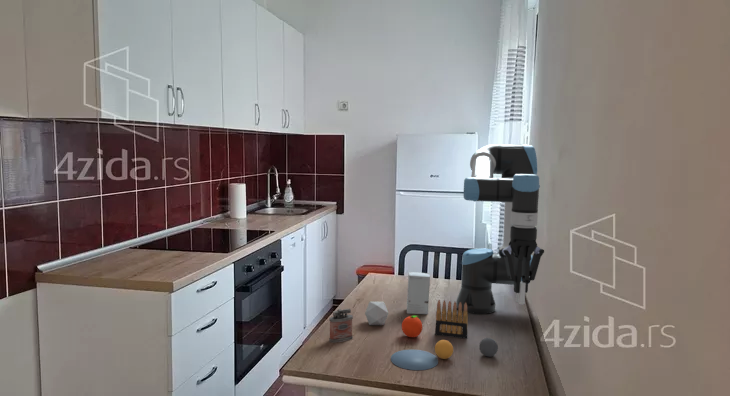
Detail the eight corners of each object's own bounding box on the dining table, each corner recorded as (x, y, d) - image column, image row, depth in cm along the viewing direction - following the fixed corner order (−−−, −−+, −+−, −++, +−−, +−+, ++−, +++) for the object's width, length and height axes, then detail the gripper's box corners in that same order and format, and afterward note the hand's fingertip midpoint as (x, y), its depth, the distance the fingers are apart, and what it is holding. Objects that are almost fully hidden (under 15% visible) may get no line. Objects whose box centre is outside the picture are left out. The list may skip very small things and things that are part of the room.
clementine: (410, 330, 171) (411, 310, 170) (427, 335, 166) (428, 314, 165) (397, 337, 164) (397, 316, 164) (414, 342, 160) (415, 321, 159)
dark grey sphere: (493, 351, 154) (493, 334, 153) (500, 359, 148) (501, 341, 148) (476, 352, 153) (476, 335, 152) (483, 360, 147) (483, 342, 147)
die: (380, 331, 171) (394, 307, 173) (359, 318, 172) (373, 294, 174) (379, 331, 179) (393, 308, 181) (359, 318, 180) (373, 295, 182)
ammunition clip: (467, 336, 166) (468, 301, 164) (467, 338, 164) (468, 303, 163) (435, 333, 169) (436, 298, 167) (434, 334, 167) (435, 300, 166)
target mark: (430, 349, 155) (430, 348, 155) (444, 368, 141) (444, 368, 141) (386, 351, 153) (386, 350, 153) (396, 371, 139) (396, 370, 139)
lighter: (331, 343, 158) (332, 312, 157) (327, 339, 161) (327, 309, 160) (354, 339, 162) (354, 309, 161) (349, 335, 165) (350, 306, 164)
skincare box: (406, 313, 187) (407, 275, 186) (406, 308, 193) (407, 271, 192) (429, 314, 187) (430, 276, 185) (428, 309, 193) (429, 272, 191)
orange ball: (449, 354, 151) (450, 336, 151) (455, 361, 146) (456, 343, 146) (432, 354, 151) (432, 337, 150) (437, 362, 145) (438, 344, 145)
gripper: (508, 228, 143) (505, 307, 145) (550, 227, 145) (546, 306, 147) (497, 224, 150) (494, 299, 153) (538, 223, 152) (534, 298, 155)
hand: (520, 302), depth 150 cm, fingers closed
